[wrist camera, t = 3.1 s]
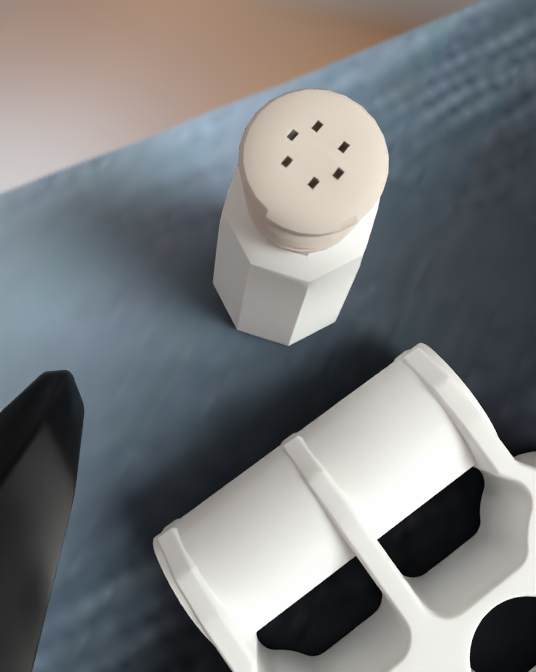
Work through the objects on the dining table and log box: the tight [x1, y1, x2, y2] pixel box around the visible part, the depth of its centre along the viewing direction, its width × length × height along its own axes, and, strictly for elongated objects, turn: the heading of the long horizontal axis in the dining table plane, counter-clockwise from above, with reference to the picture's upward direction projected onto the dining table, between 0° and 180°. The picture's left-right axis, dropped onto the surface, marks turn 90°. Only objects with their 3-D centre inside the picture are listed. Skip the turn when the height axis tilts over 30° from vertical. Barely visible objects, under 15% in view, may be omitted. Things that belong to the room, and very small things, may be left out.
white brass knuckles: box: [153, 343, 536, 672], centre depth 18 cm, size 3×18×15 cm
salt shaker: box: [213, 88, 389, 346], centre depth 15 cm, size 5×5×11 cm
